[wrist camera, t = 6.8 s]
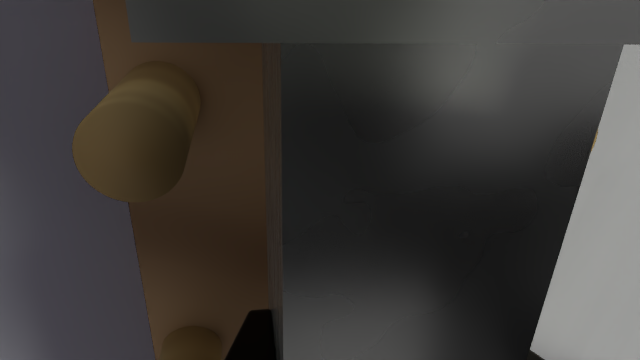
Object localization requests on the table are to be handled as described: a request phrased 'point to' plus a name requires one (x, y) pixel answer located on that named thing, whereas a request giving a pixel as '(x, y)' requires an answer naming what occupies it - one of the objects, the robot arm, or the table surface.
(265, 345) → the robot arm
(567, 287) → the table surface
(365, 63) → the grey long bar
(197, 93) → the peg rack
